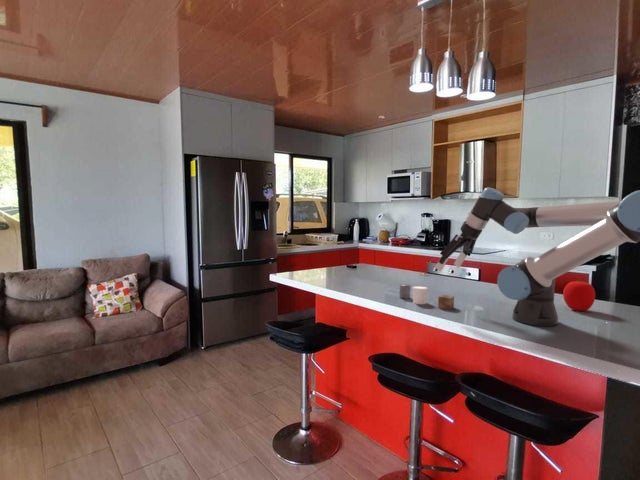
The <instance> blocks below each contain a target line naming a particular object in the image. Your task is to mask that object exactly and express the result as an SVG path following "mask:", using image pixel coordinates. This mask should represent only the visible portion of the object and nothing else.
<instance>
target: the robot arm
mask: <svg viewBox="0 0 640 480" xmlns="http://www.w3.org/2000/svg"><path fill="white" fill-rule="evenodd" d="M504 198H505V194H504V193H503V192H501V191H500V190H498V189H497V188H493V187H485V188H484V189H483V191H482V192H481V193H480V195H479V196H478V198H477V200H476V202H475V203H474V205H473V207H472V209H471V210H470V212H468V215H467V216H466V218H465V221H463V223H462V225H461V227H459V228H460V231H461V233H460V234H459V235H458V234H455V235H454V237H453V238H452V239H451V240H450V241H449V243H447V245H446V246H445V247H444V248H443V249H442V250H441V251H440V255H441V257H440V258H439V260H438V261H437V263H436V265H435V266H434V268H435V269H436V270H437V271H439V272H442V270H443V269H444V267H445V266H446V264H447V262H448V261H449V258H450V256H452V255H453V254H454V253H455V252H456V251H457V250H459V248H460V249H461V248H462V251H461V252H459V255H458V256H457V258H456V259H455V261H454V262H453V266H455V267H457V268H458V269H459V268H461V266H462V264H463V263H464V261H465V260H466V258H467V256H468V257H470V256H471V254H473V251H474V248H475V245H476V242H477V240H478V238H479V237H480V235H481V234H482V232H483V230H484V229H485V228H486V225H487V224H488V223H489V221H490V219H491V220H493V221H494V222H495V223H496V224H498V225H499V226H501V227H503V228H504V229H505V230H506V231H508V232H510V233H511V234H513V235H514V234H515V235H518V234H520V233H522V232H523V231H524V230H526V228H527V229H530V228H531V229H533V228H553V227H581V226H582V227H587V228H586V229H584V230H582V231H580V232H578V233H576V234H575V235H574V236H571V237H570V238H568V239H567V240H565V241H563V242H561V243H559V244H558V245H557V246H554V247H552V248H551V249H549V250H547V251H545V252H544V253H542V254H540V255H538V256H537V257H532V256H528V257H525V258H523V259H521V260H520V261H519V262H517V263H516V264H514V265H509V266H506V267H505V268H503V269H501V270H500V272H499V273H498V275H497V280H496V283H497V287H498V289H499V291H500V292H501V294H502V295H504V296H505V297H506V298H508V299H510V300H514V301H516V303H515V305H514V308H513V310H512V317H511V318H512V319H513V320H514V321H517V322H519V323H521V324H526V325H530V326H539V327H555V326H557V325H559V316H558V312H557V309H556V305H555V303H554V302H555V289H556V278H558V277H560V276H563V275H565V274H566V273H569V272H570V271H572V270H574V269H576V268H578V267H580V266H582V265H584V264H586V263H587V262H590V261H591V260H593V259H595V258H598V257H599V256H601V255H603V254H605V253H607V252H609V251H612V250H614V249H615V248H616V247H619V246H621V245H622V244H625V243H627V242H628V243H634V244H637V243H639V242H640V189H639V190H638V189H637V190H635V191H633V192H630V194H628V195H626V196H625V197H624V198H623V199H622V200H617V201H615V200H614V201H603V202H592V203H591V202H589V203H588V202H587V203H577V204H562V205H548V206H536V207H534V206H533V207H513V206H512V205H510V204H508V203H506V202H505V201H504Z"/></svg>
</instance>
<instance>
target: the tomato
mask: <svg viewBox="0 0 640 480" xmlns="http://www.w3.org/2000/svg"><path fill="white" fill-rule="evenodd" d="M562 291H563V292H562V293H563V295H562V297H563V300H564V303H565V304H566V306H567V307H568V308H570V309H571V310H573V311H577V312H586V311H588V310H589V309H591V308H592V306H593V304H594V302H595V300H596V297H597V296H596V295H597V294H596V291H595V288H594V287H593V285H592V284H591V283H590V282H586V281H583V280H575V281H571V282H570V281H569V282H568V283H567V284H566V285H565V287H564V288H563V290H562Z"/></svg>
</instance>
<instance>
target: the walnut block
mask: <svg viewBox="0 0 640 480" xmlns="http://www.w3.org/2000/svg"><path fill="white" fill-rule="evenodd" d="M437 303H438V304H437V308H438V309H442V310H448V311H451V310H452V309H454V307H455V296H454V295H449V294H448V295H447V294H441V295H439V296H438V301H437Z"/></svg>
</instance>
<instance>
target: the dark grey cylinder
mask: <svg viewBox="0 0 640 480" xmlns="http://www.w3.org/2000/svg"><path fill="white" fill-rule="evenodd" d="M398 296H399V299H402V300H410V299H411V285H410V284H406V283H405V284H404V283H403V284H399V295H398Z"/></svg>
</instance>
